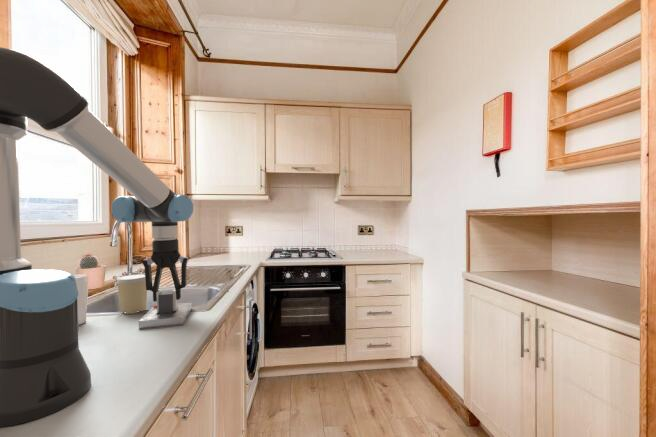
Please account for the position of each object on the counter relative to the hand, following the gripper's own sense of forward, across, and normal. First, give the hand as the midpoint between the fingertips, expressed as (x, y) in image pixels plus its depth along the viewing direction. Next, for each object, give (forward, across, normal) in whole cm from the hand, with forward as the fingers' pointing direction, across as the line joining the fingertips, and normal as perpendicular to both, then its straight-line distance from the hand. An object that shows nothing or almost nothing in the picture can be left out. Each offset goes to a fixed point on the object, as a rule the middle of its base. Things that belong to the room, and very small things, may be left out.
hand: (167, 310), depth 100 cm
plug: (+2, 0, 0) cm, 2 cm away
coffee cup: (+3, +14, -13) cm, 19 cm away
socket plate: (+3, 0, 0) cm, 3 cm away
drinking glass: (+3, +27, -3) cm, 27 cm away
